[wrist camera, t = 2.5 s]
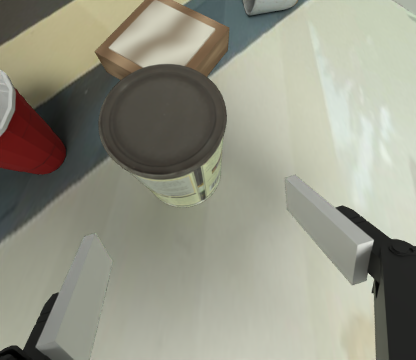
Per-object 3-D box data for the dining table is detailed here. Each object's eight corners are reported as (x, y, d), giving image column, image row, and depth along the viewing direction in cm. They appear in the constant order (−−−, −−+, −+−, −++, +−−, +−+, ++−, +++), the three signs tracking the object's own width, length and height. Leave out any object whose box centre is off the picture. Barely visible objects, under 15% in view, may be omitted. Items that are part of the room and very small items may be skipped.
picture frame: (106, 72, 37) (93, 50, 33) (159, 15, 40) (153, -11, 36) (177, 113, 34) (173, 95, 30) (227, 50, 38) (229, 26, 33)
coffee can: (147, 139, 33) (103, 65, 20) (218, 136, 33) (222, 59, 20) (145, 210, 30) (90, 180, 17) (223, 206, 30) (231, 173, 17)
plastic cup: (1, 137, 34) (-107, 81, 22) (73, 112, 35) (4, 46, 23) (12, 205, 31) (-107, 180, 19) (90, 176, 32) (21, 135, 20)
